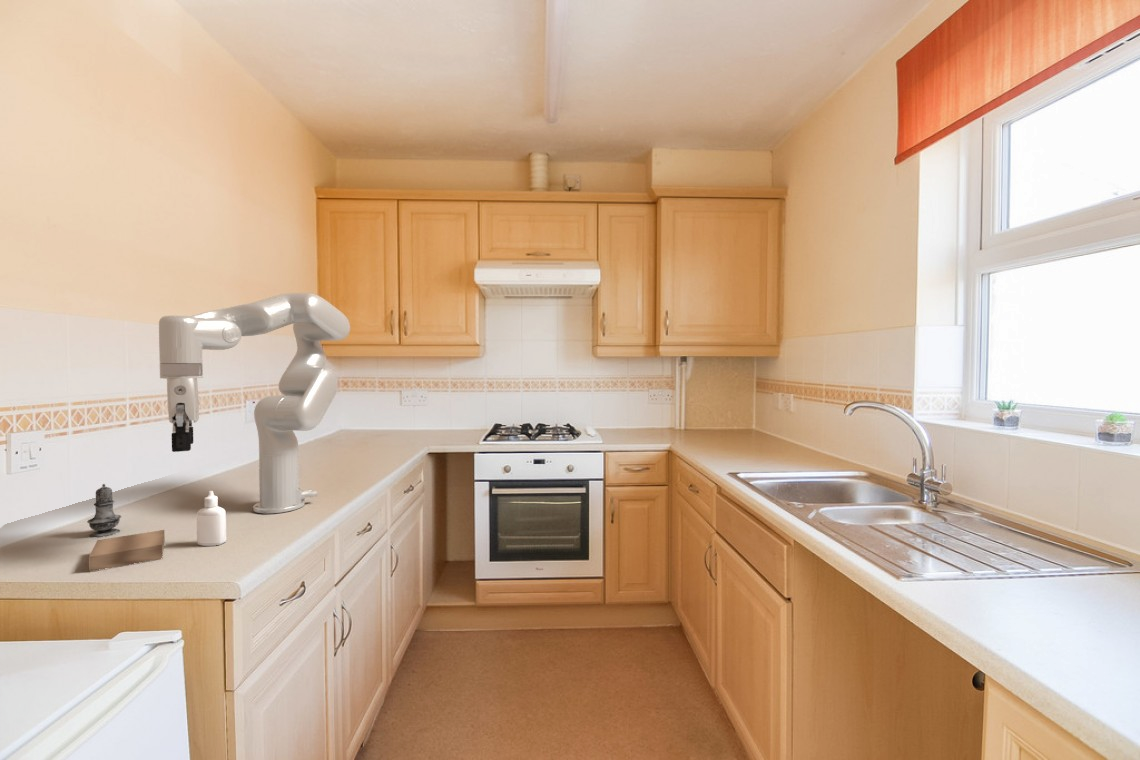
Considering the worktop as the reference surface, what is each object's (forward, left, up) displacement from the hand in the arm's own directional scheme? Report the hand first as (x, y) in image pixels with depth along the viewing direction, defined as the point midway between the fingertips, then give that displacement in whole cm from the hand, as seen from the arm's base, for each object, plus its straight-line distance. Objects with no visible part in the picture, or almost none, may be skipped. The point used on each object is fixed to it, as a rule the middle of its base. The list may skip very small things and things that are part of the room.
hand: (183, 447), depth 110 cm
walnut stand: (+9, +3, -22) cm, 24 cm away
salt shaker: (+15, -18, -22) cm, 33 cm away
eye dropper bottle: (-5, +4, -22) cm, 23 cm away
